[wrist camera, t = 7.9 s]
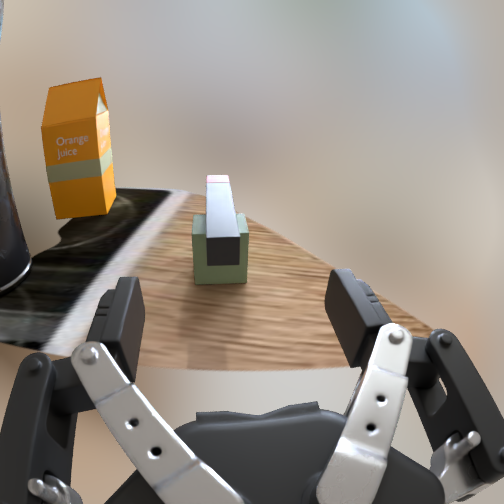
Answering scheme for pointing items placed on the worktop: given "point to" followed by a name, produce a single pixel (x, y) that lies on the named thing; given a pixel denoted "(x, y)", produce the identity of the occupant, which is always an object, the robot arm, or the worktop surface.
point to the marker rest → (218, 273)
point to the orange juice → (78, 149)
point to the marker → (221, 223)
